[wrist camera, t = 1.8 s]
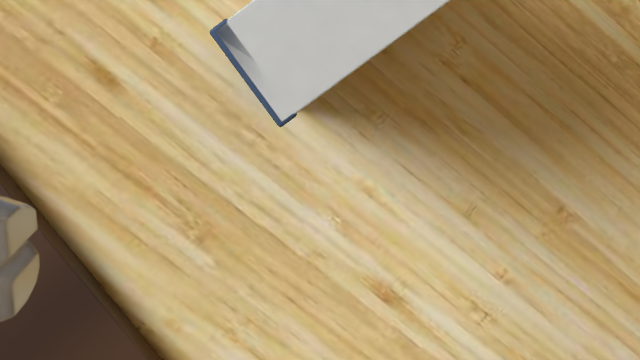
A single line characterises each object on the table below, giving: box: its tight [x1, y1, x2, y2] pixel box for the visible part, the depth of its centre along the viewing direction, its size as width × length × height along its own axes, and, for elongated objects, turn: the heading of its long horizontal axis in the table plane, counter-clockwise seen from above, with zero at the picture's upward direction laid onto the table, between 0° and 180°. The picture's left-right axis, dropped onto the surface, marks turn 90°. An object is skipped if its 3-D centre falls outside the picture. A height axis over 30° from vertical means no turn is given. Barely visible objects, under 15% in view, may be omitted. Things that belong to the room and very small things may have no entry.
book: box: [210, 0, 451, 127], centre depth 22 cm, size 3×9×13 cm, turn 126°
